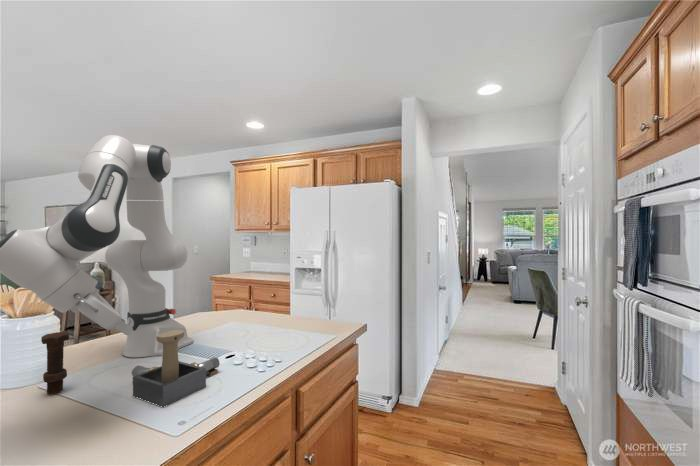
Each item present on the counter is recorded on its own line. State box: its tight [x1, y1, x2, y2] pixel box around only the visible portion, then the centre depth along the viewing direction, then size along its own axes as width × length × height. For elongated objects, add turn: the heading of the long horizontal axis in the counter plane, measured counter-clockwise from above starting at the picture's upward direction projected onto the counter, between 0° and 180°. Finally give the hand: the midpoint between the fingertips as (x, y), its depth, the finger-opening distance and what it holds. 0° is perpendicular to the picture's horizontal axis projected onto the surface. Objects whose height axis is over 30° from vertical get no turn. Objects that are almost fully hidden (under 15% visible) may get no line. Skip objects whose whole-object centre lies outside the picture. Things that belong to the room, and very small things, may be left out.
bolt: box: [41, 331, 70, 396], centre depth 86 cm, size 6×5×15 cm
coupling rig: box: [131, 357, 220, 408], centre depth 92 cm, size 20×20×5 cm
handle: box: [156, 330, 184, 384], centre depth 87 cm, size 5×6×15 cm
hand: (126, 328), depth 80 cm, fingers open, 8 cm apart
